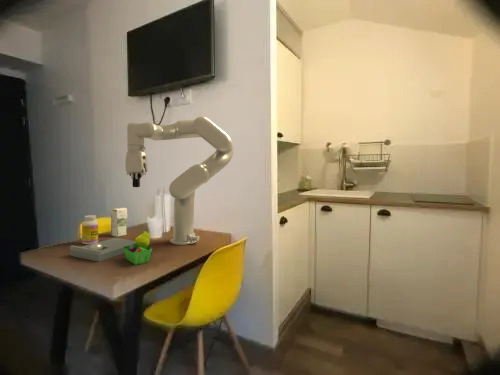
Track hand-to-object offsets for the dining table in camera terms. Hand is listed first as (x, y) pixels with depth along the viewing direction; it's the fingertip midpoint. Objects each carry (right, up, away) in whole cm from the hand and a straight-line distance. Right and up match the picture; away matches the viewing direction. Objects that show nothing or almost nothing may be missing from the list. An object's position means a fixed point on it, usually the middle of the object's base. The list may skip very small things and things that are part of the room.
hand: (136, 186), depth 139 cm
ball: (-8, -26, -22) cm, 35 cm away
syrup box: (-13, -26, +11) cm, 31 cm away
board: (-5, -28, -17) cm, 33 cm away
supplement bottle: (-20, -27, -5) cm, 34 cm away
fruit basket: (+12, -29, -27) cm, 42 cm away
